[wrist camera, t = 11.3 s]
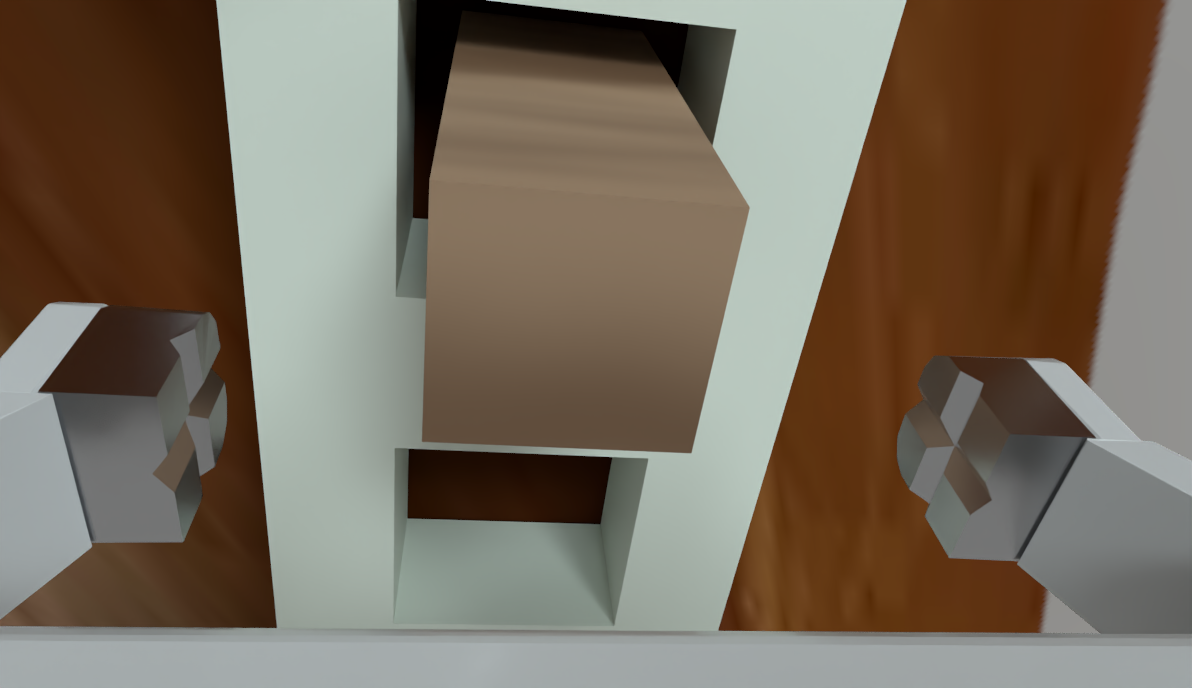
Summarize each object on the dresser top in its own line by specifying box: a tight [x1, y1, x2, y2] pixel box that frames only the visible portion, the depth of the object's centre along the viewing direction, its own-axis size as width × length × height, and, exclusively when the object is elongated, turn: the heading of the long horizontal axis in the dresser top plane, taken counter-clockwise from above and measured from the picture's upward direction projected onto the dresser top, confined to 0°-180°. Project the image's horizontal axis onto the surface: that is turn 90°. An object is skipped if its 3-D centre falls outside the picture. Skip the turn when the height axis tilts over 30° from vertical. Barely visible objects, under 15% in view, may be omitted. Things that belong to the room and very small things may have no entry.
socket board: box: [216, 0, 906, 631], centre depth 21 cm, size 20×12×4 cm, turn 173°
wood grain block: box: [422, 10, 750, 453], centre depth 16 cm, size 4×4×10 cm
